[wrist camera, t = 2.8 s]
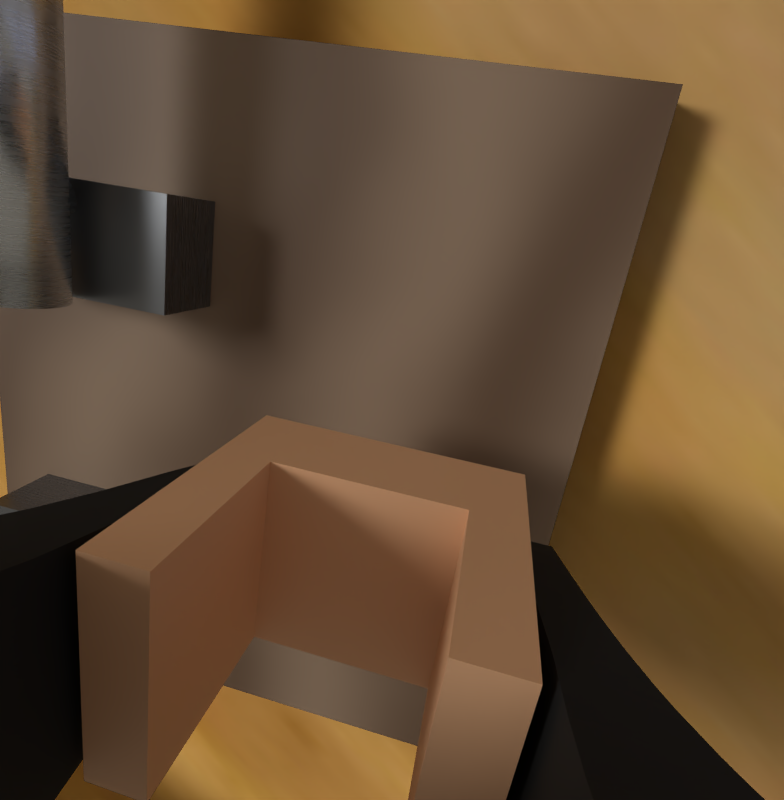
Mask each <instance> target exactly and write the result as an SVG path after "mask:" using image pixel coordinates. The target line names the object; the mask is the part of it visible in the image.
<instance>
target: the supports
mask: <svg viewBox="0 0 784 800" xmlns="http://www.w3.org/2000/svg"><path fill="white" fill-rule="evenodd" d="M69 205H70V236H71V267H72V297H76V298H81V299H86V300H91V301H95V302H100V303H105V304H110V305H115V306H120V307H125V308H130V309H134V310H139V311H144V312H149V313H154V314H159V315H164V316H165V315H170V314H175V313H179V312H184V311H189V310H194V309H199V308H204V307H209V306H210V299H211V279H212V259H213V239H214V218H215V202H214V201H208V200H202V199H196V198H191V197H185V196H179V195H173V194H167V193H161V192H155V191H149V190H143V189H137V188H131V187H125V186H119V185H113V184H107V183H101V182H95V181H89V180H83V179H77V178H71V177H69ZM102 490H106V489H104V488H100V487H97V486H93V485H89V484H85V483H81V482H78V481H74V480H70V479H66V478H62V477H58V476H55V475H51V474H47V475H45V476H43V477H41V478H39V479H37V480H35V481H33V482H31V483H29V484H27V485H25V486H23V487H21V488H19V489H17V490H15V491H13V492H11V493H9V494H7V495H5V496H3V497H1V498H0V515H1V514H6V513H11V512H16V511H21V510H25V509H30V508H34V507H38V506H42V505H46V504H50V503H54V502H58V501H62V500H66V499H70V498H74V497H78V496H82V495H86V494H90V493H94V492H98V491H102Z"/></svg>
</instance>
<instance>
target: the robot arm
mask: <svg viewBox="0 0 784 800" xmlns="http://www.w3.org/2000/svg"><path fill="white" fill-rule="evenodd" d="M194 466H195V465H193V466H189V467H185V468H181V469H177V470H174V471H170V472H166V473H163V474H159V475H156V476H152V477H149V478H145V479H141V480H138V481H134V482H131V483H127V484H124V485H120V486H117V487H113V488H109V489H106V490H102V491H98V492H94V493H90V494H86V495H82V496H78V497H74V498H70V499H66V500H62V501H58V502H54V503H50V504H46V505H42V506H38V507H34V508H30V509H25V510H21V511H16V512H11V513H6V514H1V515H0V800H55V798H56V797H57V795H58V794H59V793H60V791H61V790H62V788H63V787H64V785H65V784H66V783H67V781H68V780H69V778H70V777H71V775H72V774H73V773H74V771H75V770H76V768H77V767H78V765H79V764H80V763H81V761H82V760H83V739H82V712H81V685H80V659H79V632H78V605H77V578H76V551H75V550H76V549H78V548H79V547H81V546H82V545H83V544H85V543H86V542H88V541H89V540H90V539H92V538H93V537H95V536H96V535H98V534H99V533H100V532H102V531H103V530H105V529H106V528H107V527H109V526H110V525H112V524H113V523H115V522H116V521H117V520H119V519H120V518H122V517H123V516H124V515H126V514H127V513H129V512H130V511H132V510H133V509H134V508H136V507H137V506H139V505H140V504H141V503H143V502H144V501H146V500H147V499H149V498H150V497H151V496H153V495H154V494H156V493H157V492H158V491H160V490H161V489H163V488H164V487H166V486H167V485H168V484H170V483H171V482H173V481H174V480H175V479H177V478H178V477H180V476H181V475H183V474H184V473H185V472H187V471H188V470H190V469H191V468H192V467H194ZM531 551H532V563H533V575H534V587H535V599H536V611H537V623H538V635H539V647H540V658H541V670H542V682H543V685H542V689H541V692H540V695H539V698H538V701H537V704H536V707H535V711H534V714H533V717H532V720H531V723H530V726H529V729H528V732H527V736H526V739H525V742H524V745H523V748H522V751H521V754H520V758H519V761H518V764H517V767H516V770H515V773H514V776H513V780H512V783H511V786H510V789H509V792H508V795H507V798H506V800H765V799H764V798H763V797H762V796H761V795H759V794H758V793H757V792H756V791H755V790H754V789H753V788H752V787H751V786H750V785H749V784H748V783H747V782H746V781H745V780H744V779H743V778H742V777H741V776H740V775H739V774H738V773H737V772H736V771H735V770H734V769H733V768H732V767H730V766H729V765H728V764H727V763H726V762H725V761H724V760H723V759H722V758H721V757H720V756H719V755H718V754H717V752H716V751H715V750H714V749H713V748H712V747H711V746H710V745H709V744H708V743H707V742H706V741H705V740H704V739H703V738H702V737H701V736H700V735H699V733H698V732H697V731H696V730H695V729H694V728H693V727H692V726H691V725H690V724H689V723H688V722H687V721H686V720H685V719H684V718H683V717H682V716H681V714H680V713H679V712H678V711H677V710H676V709H675V708H674V707H673V706H672V705H671V704H670V702H669V701H668V700H667V699H666V698H665V697H664V696H663V695H662V693H661V692H660V691H659V690H658V689H657V688H656V687H655V685H654V684H653V683H652V682H651V680H650V679H649V678H648V677H647V676H646V674H645V673H644V672H643V671H642V670H641V668H640V667H639V666H638V665H637V664H636V662H635V661H634V660H633V659H632V657H631V656H630V655H629V654H628V653H627V651H626V650H625V649H624V648H623V646H622V645H621V644H620V642H619V641H618V640H617V639H616V637H615V636H614V635H613V633H612V632H611V631H610V629H609V628H608V627H607V625H606V624H605V623H604V621H603V620H602V619H601V617H600V616H599V614H598V613H597V612H596V610H595V609H594V608H593V606H592V605H591V603H590V602H589V601H588V599H587V598H586V596H585V595H584V593H583V592H582V591H581V589H580V588H579V586H578V585H577V583H576V582H575V580H574V579H573V577H572V576H571V574H570V573H569V571H568V570H567V568H566V567H565V565H564V564H563V562H562V561H561V560H560V558H559V557H558V555H557V554H556V552H555V551H554V549H553V548H552V547H551V546H548V545H544V544H540V543H536V542H532V541H531Z"/></svg>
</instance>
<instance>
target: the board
mask: <svg viewBox="0 0 784 800" xmlns="http://www.w3.org/2000/svg"><path fill="white" fill-rule="evenodd" d="M63 18H64V49H65V80H66V111H67V143H68V174H69V177H71V178H77V179H83V180H89V181H95V182H101V183H107V184H113V185H119V186H125V187H131V188H137V189H143V190H149V191H155V192H161V193H167V194H173V195H179V196H185V197H191V198H196V199H202V200H208V201H214V202H215V218H214V239H213V259H212V279H211V299H210V306H209V307H204V308H199V309H194V310H189V311H184V312H179V313H175V314H170V315H165V316H164V315H159V314H154V313H149V312H144V311H139V310H134V309H130V308H125V307H120V306H115V305H110V304H105V303H100V302H95V301H91V300H86V299H81V298H76V297H72V298H73V303H72V304H71V305H69V306H66V307H61V308H51V309H16V308H3V307H0V401H1V414H2V426H3V439H4V452H5V464H6V477H7V489H8V494H9V493H11V492H13V491H15V490H17V489H19V488H21V487H23V486H25V485H27V484H29V483H31V482H33V481H35V480H37V479H39V478H41V477H43V476H45V475H47V474H51V475H55V476H58V477H62V478H66V479H70V480H74V481H78V482H81V483H85V484H89V485H93V486H97V487H100V488H104V489H109V488H113V487H117V486H120V485H124V484H127V483H131V482H134V481H138V480H141V479H145V478H149V477H152V476H156V475H159V474H163V473H166V472H170V471H174V470H177V469H181V468H185V467H189V466H193V465H197V464H198V463H200V462H201V461H202V460H204V459H205V458H207V457H208V456H209V455H211V454H212V453H214V452H215V451H217V450H218V449H219V448H221V447H222V446H224V445H225V444H226V443H228V442H229V441H231V440H232V439H234V438H235V437H236V436H238V435H239V434H241V433H242V432H243V431H245V430H246V429H248V428H249V427H251V426H252V425H253V424H255V423H256V422H258V421H259V420H260V419H262V418H263V417H265V416H266V415H268V416H272V417H277V418H281V419H285V420H290V421H294V422H298V423H303V424H307V425H311V426H316V427H320V428H324V429H329V430H333V431H337V432H342V433H346V434H351V435H355V436H359V437H364V438H368V439H372V440H377V441H381V442H385V443H390V444H394V445H398V446H403V447H407V448H411V449H416V450H420V451H424V452H429V453H433V454H437V455H442V456H446V457H450V458H455V459H459V460H463V461H468V462H472V463H476V464H481V465H485V466H489V467H494V468H498V469H503V470H507V471H511V472H516V473H520V474H524V475H525V479H526V491H527V503H528V515H529V527H530V539H531V541H532V542H536V543H540V544H544V545H549V542H550V538H551V535H552V531H553V528H554V525H555V521H556V518H557V514H558V511H559V507H560V504H561V501H562V497H563V494H564V490H565V487H566V483H567V480H568V477H569V473H570V470H571V466H572V463H573V459H574V456H575V453H576V449H577V446H578V442H579V439H580V435H581V432H582V429H583V425H584V422H585V418H586V415H587V411H588V408H589V404H590V401H591V398H592V394H593V391H594V387H595V384H596V380H597V377H598V374H599V370H600V367H601V363H602V360H603V356H604V353H605V350H606V346H607V343H608V339H609V336H610V332H611V329H612V326H613V322H614V319H615V315H616V312H617V308H618V305H619V302H620V298H621V295H622V291H623V288H624V284H625V281H626V278H627V274H628V271H629V267H630V264H631V260H632V257H633V254H634V250H635V247H636V243H637V240H638V236H639V233H640V230H641V226H642V223H643V219H644V216H645V212H646V209H647V205H648V202H649V199H650V195H651V192H652V188H653V185H654V181H655V178H656V175H657V171H658V168H659V164H660V161H661V157H662V154H663V151H664V147H665V144H666V140H667V137H668V133H669V130H670V127H671V123H672V120H673V116H674V113H675V109H676V106H677V103H678V99H679V96H680V92H681V89H682V85H683V84H674V83H666V82H657V81H648V80H640V79H631V78H622V77H614V76H605V75H597V74H588V73H579V72H571V71H562V70H553V69H545V68H536V67H528V66H519V65H510V64H502V63H493V62H484V61H476V60H467V59H459V58H450V57H441V56H433V55H424V54H415V53H407V52H398V51H389V50H381V49H372V48H364V47H355V46H346V45H338V44H329V43H320V42H312V41H303V40H295V39H286V38H277V37H269V36H260V35H251V34H243V33H234V32H226V31H217V30H208V29H200V28H191V27H182V26H174V25H165V24H157V23H148V22H139V21H131V20H122V19H113V18H105V17H96V16H87V15H79V14H70V13H63ZM223 685H224V686H227V687H230V688H233V689H237V690H240V691H243V692H246V693H249V694H253V695H256V696H259V697H262V698H266V699H269V700H272V701H275V702H278V703H282V704H285V705H288V706H291V707H294V708H298V709H301V710H304V711H307V712H310V713H314V714H317V715H320V716H323V717H326V718H330V719H333V720H336V721H339V722H342V723H346V724H349V725H352V726H355V727H358V728H362V729H365V730H368V731H371V732H374V733H378V734H381V735H384V736H387V737H391V738H394V739H397V740H400V741H403V742H407V743H410V744H413V745H416V746H418V741H419V735H420V730H421V724H422V718H423V713H424V707H425V701H426V696H427V690H428V689H427V688H424V687H420V686H417V685H414V684H410V683H407V682H404V681H400V680H397V679H394V678H390V677H387V676H384V675H380V674H377V673H374V672H370V671H367V670H364V669H360V668H357V667H354V666H350V665H347V664H344V663H340V662H337V661H334V660H330V659H327V658H324V657H320V656H317V655H314V654H310V653H307V652H303V651H300V650H297V649H293V648H290V647H287V646H283V645H280V644H277V643H273V642H270V641H267V640H263V639H260V638H257V637H254V638H253V639H252V641H251V643H250V644H249V646H248V647H247V649H246V650H245V652H244V653H243V655H242V657H241V658H240V660H239V661H238V663H237V664H236V666H235V667H234V669H233V670H232V672H231V674H230V675H229V677H228V678H227V680H226V681H225V683H224V684H223Z"/></svg>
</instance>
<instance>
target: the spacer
mask: <svg viewBox="0 0 784 800" xmlns="http://www.w3.org/2000/svg"><path fill="white" fill-rule="evenodd" d="M75 551H76V578H77V605H78V632H79V659H80V685H81V712H82V739H83V766H84V781H86V782H89V783H91V784H94V785H97V786H100V787H102V788H105V789H108V790H111V791H113V792H116V793H119V794H122V795H124V796H127V797H130V798H133V799H136V800H149V799H150V798H151V796H152V795H153V793H154V791H155V790H156V788H157V787H158V785H159V784H160V782H161V781H162V779H163V778H164V776H165V774H166V773H167V771H168V770H169V768H170V767H171V765H172V764H173V762H174V760H175V759H176V757H177V756H178V754H179V753H180V751H181V750H182V748H183V746H184V745H185V743H186V742H187V740H188V739H189V737H190V736H191V734H192V733H193V731H194V729H195V728H196V726H197V725H198V723H199V722H200V720H201V719H202V717H203V715H204V714H205V712H206V711H207V709H208V708H209V706H210V705H211V703H212V702H213V700H214V698H215V697H216V695H217V694H218V692H219V691H220V689H221V688H222V686H223V684H224V683H225V681H226V680H227V678H228V677H229V675H230V674H231V672H232V670H233V669H234V667H235V666H236V664H237V663H238V661H239V660H240V658H241V657H242V655H243V653H244V652H245V650H246V649H247V647H248V646H249V644H250V643H251V641H252V639H253V638H254V637H257V638H260V639H263V640H267V641H270V642H273V643H277V644H280V645H283V646H287V647H290V648H293V649H297V650H300V651H303V652H307V653H310V654H314V655H317V656H320V657H324V658H327V659H330V660H334V661H337V662H340V663H344V664H347V665H350V666H354V667H357V668H360V669H364V670H367V671H370V672H374V673H377V674H380V675H384V676H387V677H390V678H394V679H397V680H400V681H404V682H407V683H410V684H414V685H417V686H420V687H424V688H427V689H428V690H427V696H426V701H425V707H424V713H423V718H422V724H421V730H420V735H419V741H418V747H417V752H416V758H415V764H414V769H413V775H412V781H411V786H410V792H409V798H408V800H506V798H507V795H508V792H509V789H510V786H511V783H512V780H513V776H514V773H515V770H516V767H517V764H518V761H519V758H520V754H521V751H522V748H523V745H524V742H525V739H526V736H527V732H528V729H529V726H530V723H531V720H532V717H533V714H534V711H535V707H536V704H537V701H538V698H539V695H540V692H541V689H542V685H543V682H542V670H541V658H540V647H539V635H538V623H537V611H536V599H535V587H534V575H533V563H532V551H531V539H530V527H529V515H528V503H527V491H526V479H525V475H524V474H520V473H516V472H511V471H507V470H503V469H498V468H494V467H489V466H485V465H481V464H476V463H472V462H468V461H463V460H459V459H455V458H450V457H446V456H442V455H437V454H433V453H429V452H424V451H420V450H416V449H411V448H407V447H403V446H398V445H394V444H390V443H385V442H381V441H377V440H372V439H368V438H364V437H359V436H355V435H351V434H346V433H342V432H337V431H333V430H329V429H324V428H320V427H316V426H311V425H307V424H303V423H298V422H294V421H290V420H285V419H281V418H277V417H272V416H268V415H266V416H265V417H263V418H262V419H260V420H259V421H258V422H256V423H255V424H253V425H252V426H251V427H249V428H248V429H246V430H245V431H243V432H242V433H241V434H239V435H238V436H236V437H235V438H234V439H232V440H231V441H229V442H228V443H226V444H225V445H224V446H222V447H221V448H219V449H218V450H217V451H215V452H214V453H212V454H211V455H209V456H208V457H207V458H205V459H204V460H202V461H201V462H200V463H198V464H197V465H195V466H194V467H192V468H191V469H190V470H188V471H187V472H185V473H184V474H183V475H181V476H180V477H178V478H177V479H175V480H174V481H173V482H171V483H170V484H168V485H167V486H166V487H164V488H163V489H161V490H160V491H158V492H157V493H156V494H154V495H153V496H151V497H150V498H149V499H147V500H146V501H144V502H143V503H141V504H140V505H139V506H137V507H136V508H134V509H133V510H132V511H130V512H129V513H127V514H126V515H124V516H123V517H122V518H120V519H119V520H117V521H116V522H115V523H113V524H112V525H110V526H109V527H107V528H106V529H105V530H103V531H102V532H100V533H99V534H98V535H96V536H95V537H93V538H92V539H90V540H89V541H88V542H86V543H85V544H83V545H82V546H81V547H79V548H78V549H76V550H75Z"/></svg>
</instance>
